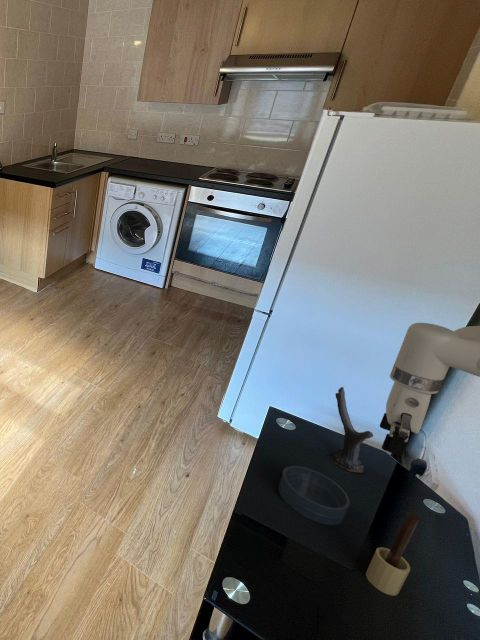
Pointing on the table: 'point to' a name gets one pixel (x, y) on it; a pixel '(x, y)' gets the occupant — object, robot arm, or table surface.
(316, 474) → the bowl
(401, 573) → the cup
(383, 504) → the table surface
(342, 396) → the antler
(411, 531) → the stick
